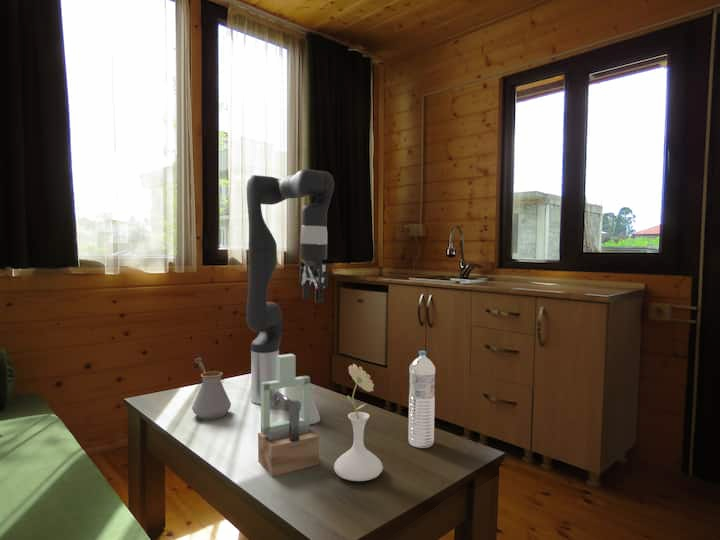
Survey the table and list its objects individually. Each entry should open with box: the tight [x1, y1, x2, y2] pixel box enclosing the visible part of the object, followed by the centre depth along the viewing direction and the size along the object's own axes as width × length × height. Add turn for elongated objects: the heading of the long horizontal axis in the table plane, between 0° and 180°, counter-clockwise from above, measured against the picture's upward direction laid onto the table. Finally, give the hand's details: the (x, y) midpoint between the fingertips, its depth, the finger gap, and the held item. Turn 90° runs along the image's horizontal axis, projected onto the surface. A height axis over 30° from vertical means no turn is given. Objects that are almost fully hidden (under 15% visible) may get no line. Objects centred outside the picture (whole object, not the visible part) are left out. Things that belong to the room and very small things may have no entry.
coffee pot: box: [191, 357, 232, 421], centre depth 148 cm, size 21×12×15 cm, turn 34°
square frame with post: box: [260, 353, 311, 440], centre depth 114 cm, size 5×12×19 cm, turn 121°
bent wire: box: [270, 390, 300, 442], centre depth 118 cm, size 21×2×9 cm, turn 31°
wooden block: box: [257, 428, 320, 477], centre depth 113 cm, size 9×12×7 cm
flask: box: [299, 386, 321, 425], centre depth 141 cm, size 7×7×10 cm
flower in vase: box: [333, 363, 384, 482], centre depth 108 cm, size 13×11×25 cm
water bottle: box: [407, 350, 436, 449], centre depth 125 cm, size 7×7×25 cm
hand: (312, 300), depth 132 cm, fingers open, 8 cm apart
